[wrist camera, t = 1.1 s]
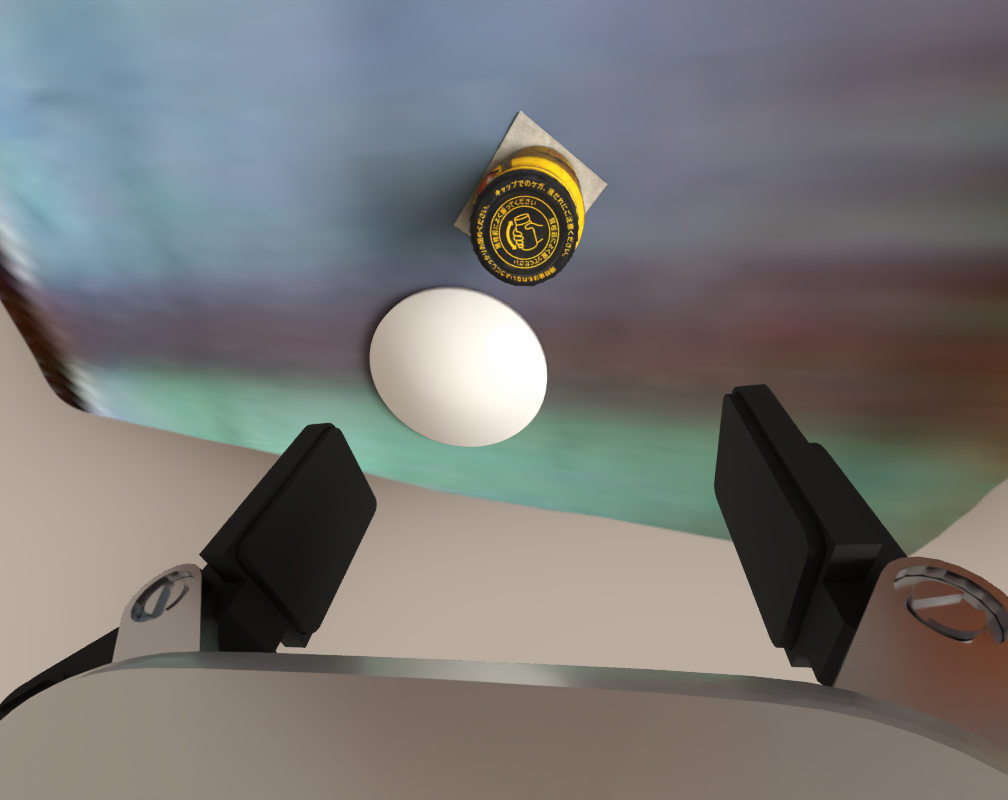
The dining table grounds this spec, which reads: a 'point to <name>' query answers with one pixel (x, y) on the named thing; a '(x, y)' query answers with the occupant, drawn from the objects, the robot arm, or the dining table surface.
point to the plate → (459, 366)
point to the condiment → (529, 206)
